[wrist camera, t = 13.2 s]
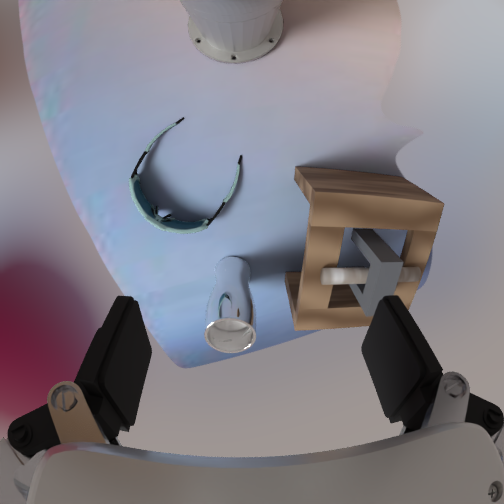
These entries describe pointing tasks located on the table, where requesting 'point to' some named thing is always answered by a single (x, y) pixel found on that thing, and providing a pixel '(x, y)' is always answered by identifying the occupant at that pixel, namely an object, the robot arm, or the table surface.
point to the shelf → (331, 234)
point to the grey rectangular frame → (375, 270)
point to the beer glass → (231, 308)
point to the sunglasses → (149, 209)
